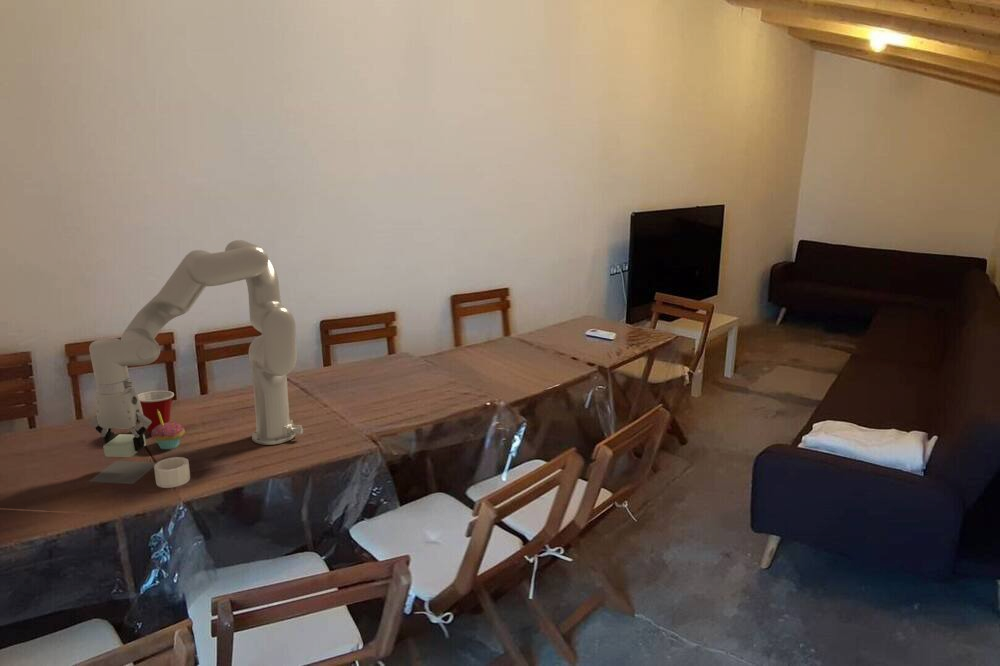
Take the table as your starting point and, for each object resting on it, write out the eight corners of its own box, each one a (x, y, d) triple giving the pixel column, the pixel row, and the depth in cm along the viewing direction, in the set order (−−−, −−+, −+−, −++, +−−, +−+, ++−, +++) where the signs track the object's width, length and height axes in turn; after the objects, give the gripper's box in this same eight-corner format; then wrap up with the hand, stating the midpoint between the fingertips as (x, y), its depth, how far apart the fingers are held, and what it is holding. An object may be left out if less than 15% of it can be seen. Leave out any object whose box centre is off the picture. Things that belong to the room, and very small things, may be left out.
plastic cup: (185, 425, 208) (181, 389, 205) (165, 439, 198) (160, 401, 195) (152, 423, 209) (148, 387, 206) (130, 437, 199) (125, 399, 196)
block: (146, 444, 179) (144, 434, 178) (131, 457, 173) (129, 446, 172) (121, 444, 180) (119, 434, 179) (105, 456, 173) (103, 446, 172)
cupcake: (153, 455, 188) (148, 415, 185) (152, 443, 195) (148, 405, 192) (186, 449, 192) (182, 410, 188) (185, 438, 199) (181, 400, 196)
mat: (158, 464, 183) (158, 462, 183) (133, 485, 171) (133, 483, 171) (116, 462, 183) (116, 460, 183) (88, 483, 172) (87, 481, 172)
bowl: (196, 475, 177) (194, 457, 176) (180, 489, 170) (178, 472, 168) (166, 473, 178) (164, 456, 176) (150, 488, 170) (147, 470, 169)
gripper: (154, 381, 174) (165, 443, 179) (90, 380, 175) (103, 441, 180) (138, 392, 167) (149, 456, 172) (71, 391, 168) (84, 454, 173)
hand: (125, 448), depth 176 cm, fingers closed on block, 7 cm apart
